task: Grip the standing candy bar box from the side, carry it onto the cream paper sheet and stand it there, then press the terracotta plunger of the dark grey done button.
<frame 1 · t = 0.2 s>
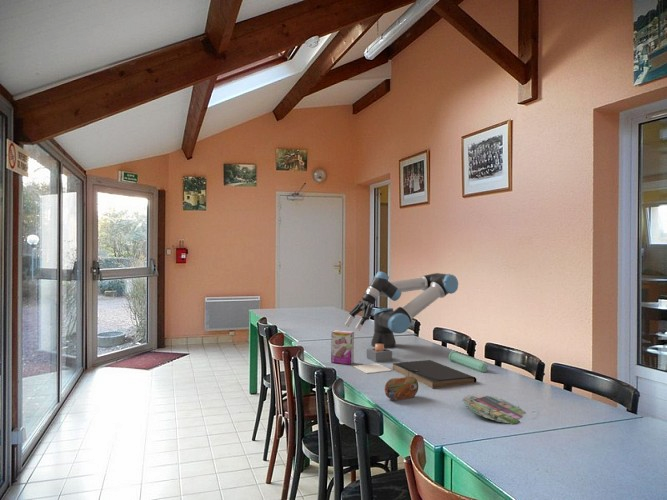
hand: (351, 327, 259), 15 cm above the table, tool tilted 35°, fingers open, 13 cm apart
candy bar box: (342, 363, 239), on the table
tin: (401, 398, 183), on the table
paper sheet: (372, 368, 228), on the table
button housing: (379, 359, 248), on the table
dark brown book: (432, 377, 216), on the table
done button: (379, 349, 248), point 6 cm above the table, slide at 0.0 cm
city model: (494, 414, 168), on the table
container: (468, 367, 235), on the table
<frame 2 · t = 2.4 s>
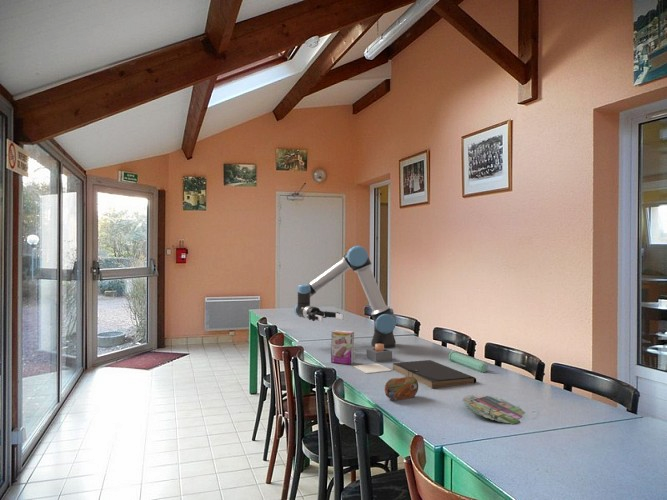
hand: (332, 318, 247), 22 cm above the table, tool horizontal, fingers open, 13 cm apart
nothing on the table moved.
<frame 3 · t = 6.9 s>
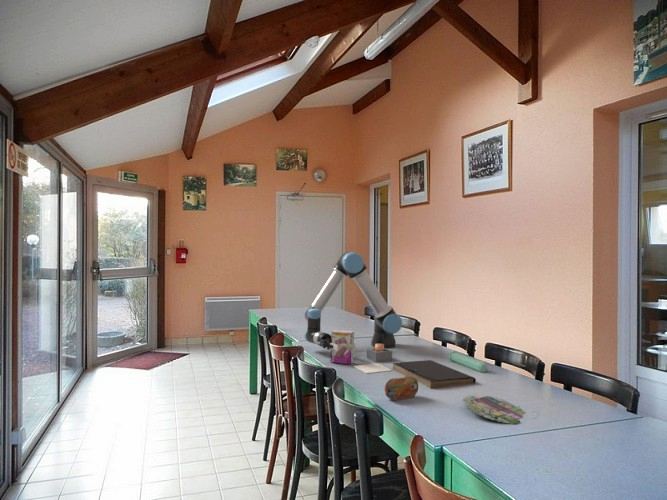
hand: (346, 346, 236), 9 cm above the table, tool horizontal, fingers closed on candy bar box, 10 cm apart
candy bar box: (342, 363, 239), on the table, touching gripper
everything else where it was.
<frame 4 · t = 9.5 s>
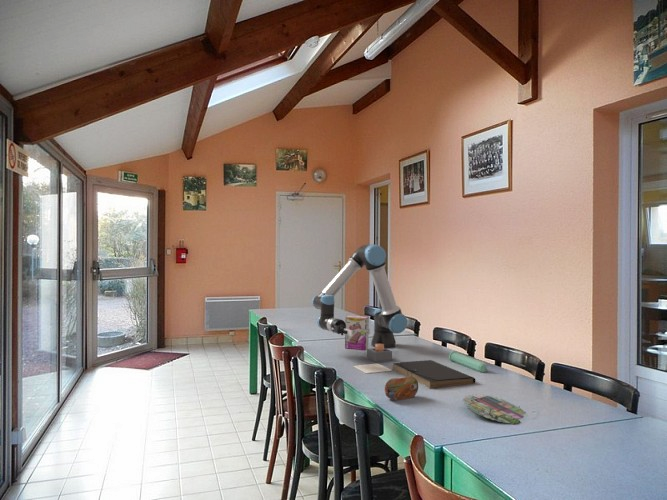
hand: (360, 332, 229), 18 cm above the table, tool horizontal, fingers closed on candy bar box, 10 cm apart
candy bar box: (356, 349, 232), point 9 cm above the table, touching gripper
everything else where it was.
when the fingers open (10 cm above the table, at t = 12.1 s): candy bar box drops 1 cm, resting on paper sheet.
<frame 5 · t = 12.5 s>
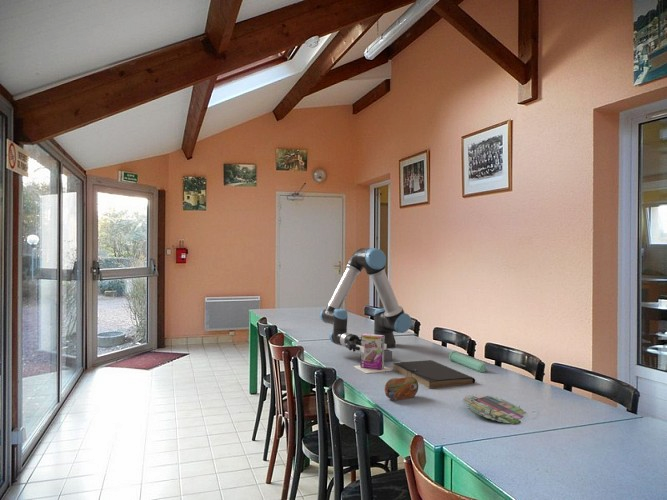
hand: (375, 348, 226), 10 cm above the table, tool horizontal, fingers open, 13 cm apart
candy bar box: (372, 368, 228), resting on paper sheet
everything else where it was.
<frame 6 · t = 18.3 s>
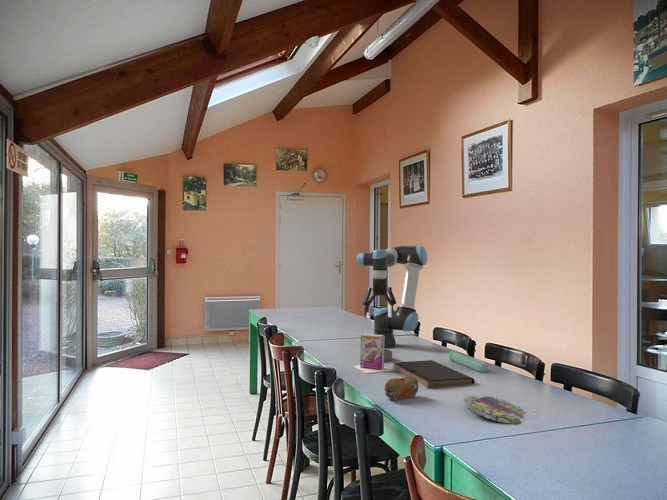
hand: (379, 317, 248), 22 cm above the table, tool pointing down, fingers open, 12 cm apart
nothing on the table moved.
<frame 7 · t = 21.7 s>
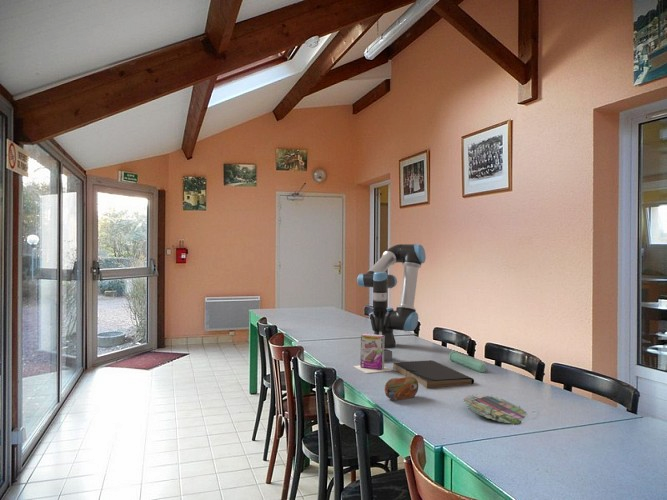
hand: (379, 344, 248), 8 cm above the table, tool pointing down, fingers closed
done button: (379, 349, 248), point 5 cm above the table, slide at 0.0 cm, touching gripper
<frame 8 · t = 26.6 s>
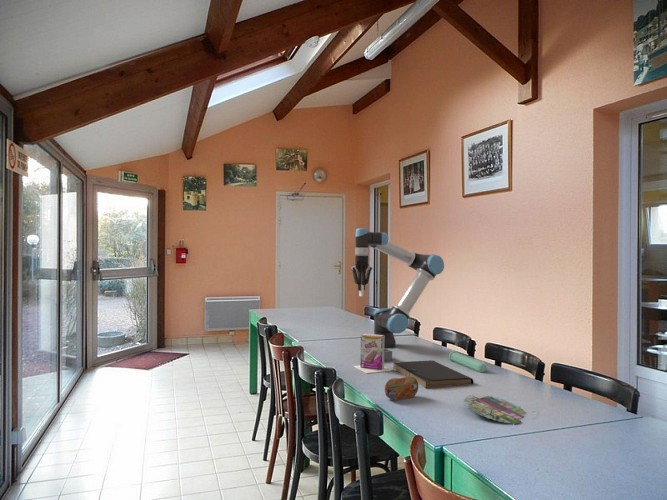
hand: (361, 296, 263), 32 cm above the table, tool pointing down, fingers closed
done button: (379, 351, 248), point 4 cm above the table, slide at 1.5 cm
at the end: candy bar box inside the target area on the paper sheet (0.1 cm from its centre), point 0.2 cm above the paper sheet's base; candy bar box tilted 0°; done button slide at 1.5 cm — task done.
